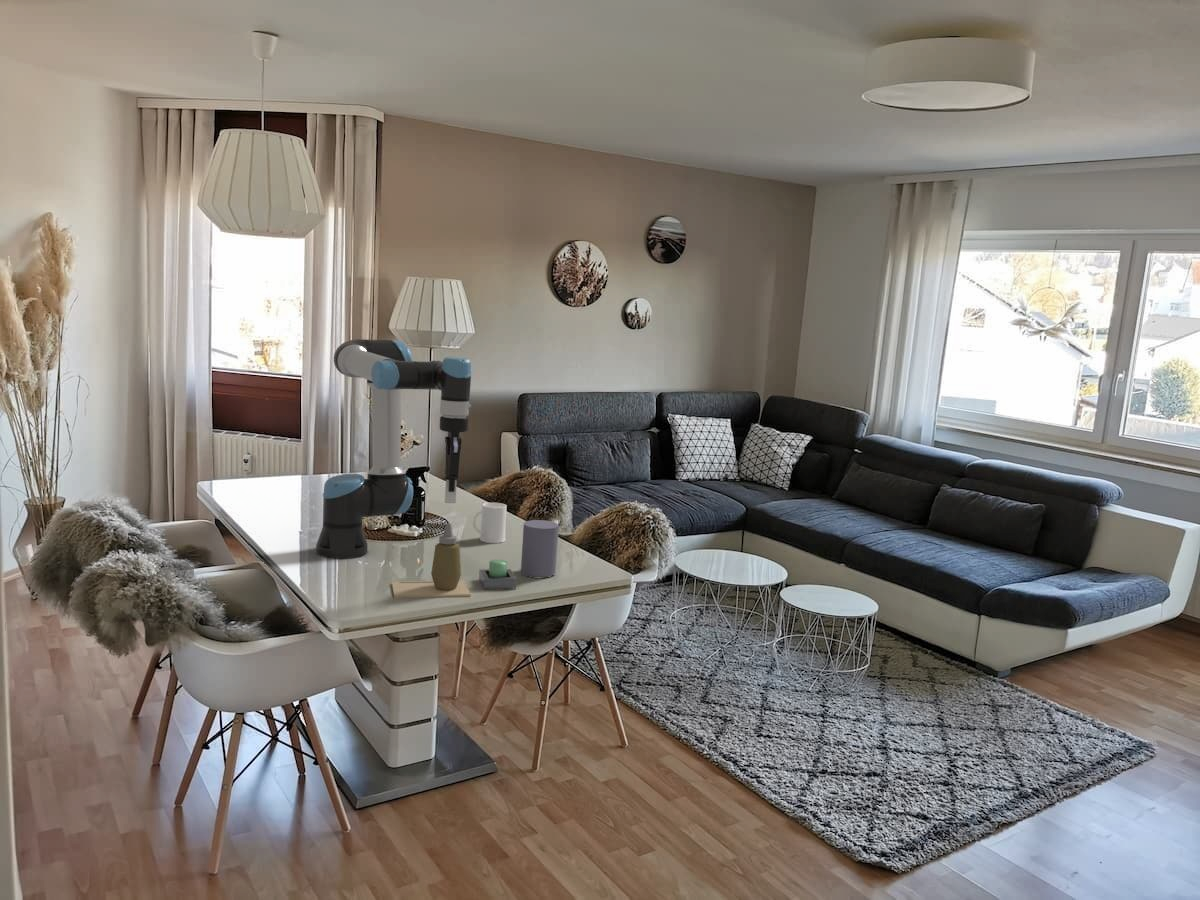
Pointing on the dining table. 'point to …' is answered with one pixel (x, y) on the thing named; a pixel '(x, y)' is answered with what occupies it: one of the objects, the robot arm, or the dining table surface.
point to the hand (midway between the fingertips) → (450, 502)
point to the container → (539, 548)
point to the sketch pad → (427, 589)
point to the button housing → (497, 580)
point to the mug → (492, 522)
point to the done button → (497, 568)
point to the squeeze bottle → (446, 561)
